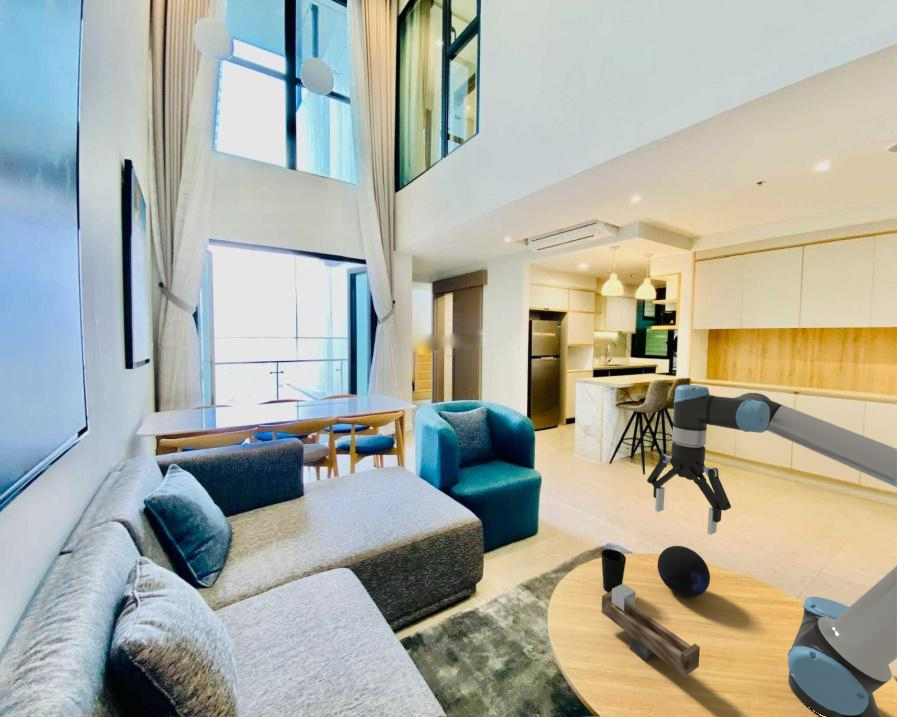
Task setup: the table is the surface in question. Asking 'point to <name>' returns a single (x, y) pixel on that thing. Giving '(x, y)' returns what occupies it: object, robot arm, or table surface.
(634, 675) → the table surface
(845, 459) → the robot arm
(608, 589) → the cup
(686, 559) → the decorative sphere
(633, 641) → the beam
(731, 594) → the table surface
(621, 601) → the block
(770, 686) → the table surface
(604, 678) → the table surface
